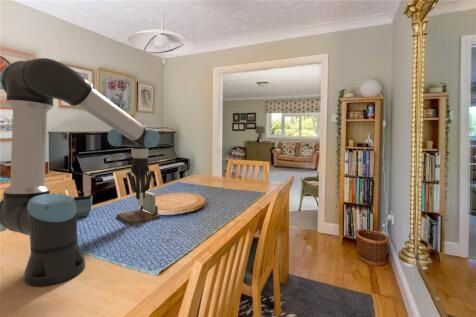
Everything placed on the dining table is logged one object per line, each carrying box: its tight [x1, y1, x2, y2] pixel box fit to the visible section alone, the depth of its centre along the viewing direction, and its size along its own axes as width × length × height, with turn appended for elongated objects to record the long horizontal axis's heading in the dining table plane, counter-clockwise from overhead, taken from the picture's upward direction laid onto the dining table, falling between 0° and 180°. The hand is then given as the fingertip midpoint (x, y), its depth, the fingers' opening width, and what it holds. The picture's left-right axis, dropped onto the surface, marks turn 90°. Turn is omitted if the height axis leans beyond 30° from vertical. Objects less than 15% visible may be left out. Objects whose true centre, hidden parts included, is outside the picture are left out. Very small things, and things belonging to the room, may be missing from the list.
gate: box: [143, 190, 156, 214], centre depth 134 cm, size 10×2×10 cm, turn 46°
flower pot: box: [72, 195, 93, 218], centre depth 133 cm, size 9×9×9 cm
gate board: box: [116, 188, 161, 226], centre depth 131 cm, size 15×16×12 cm
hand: (140, 205), depth 128 cm, fingers closed
